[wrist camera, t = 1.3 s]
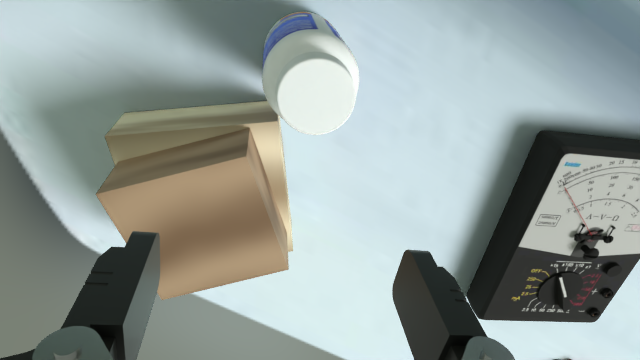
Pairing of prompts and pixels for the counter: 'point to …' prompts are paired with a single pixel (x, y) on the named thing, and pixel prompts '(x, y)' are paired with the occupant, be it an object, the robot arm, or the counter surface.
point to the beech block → (202, 123)
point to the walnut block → (201, 212)
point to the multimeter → (563, 232)
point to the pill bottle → (309, 73)
